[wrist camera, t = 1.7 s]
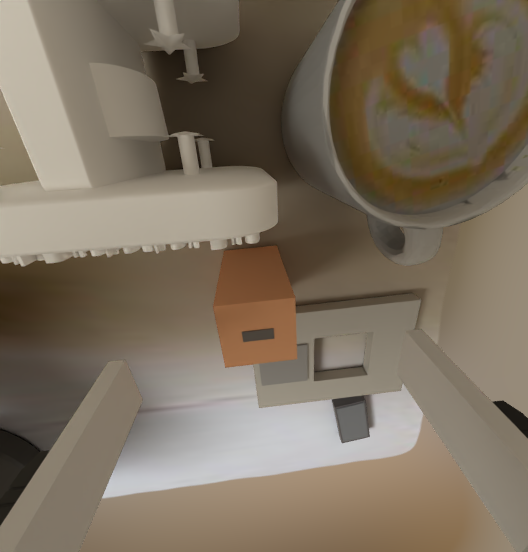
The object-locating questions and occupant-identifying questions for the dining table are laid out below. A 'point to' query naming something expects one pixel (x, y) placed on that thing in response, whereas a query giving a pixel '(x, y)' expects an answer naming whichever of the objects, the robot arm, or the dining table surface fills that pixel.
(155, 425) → the dining table surface
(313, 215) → the dining table surface
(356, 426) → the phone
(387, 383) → the outlet plate
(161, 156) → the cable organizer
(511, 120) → the coffee mug
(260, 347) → the block
